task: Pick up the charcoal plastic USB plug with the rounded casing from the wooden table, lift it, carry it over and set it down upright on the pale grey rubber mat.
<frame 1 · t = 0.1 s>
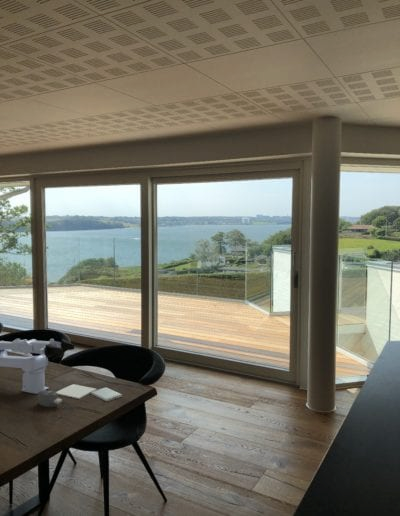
hand: (67, 348, 188), 22 cm above the table, tool horizontal, fingers open, 7 cm apart
hard drive: (106, 396, 192), on the table
rubber mat: (75, 391, 195), on the table
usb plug: (48, 404, 181), on the table
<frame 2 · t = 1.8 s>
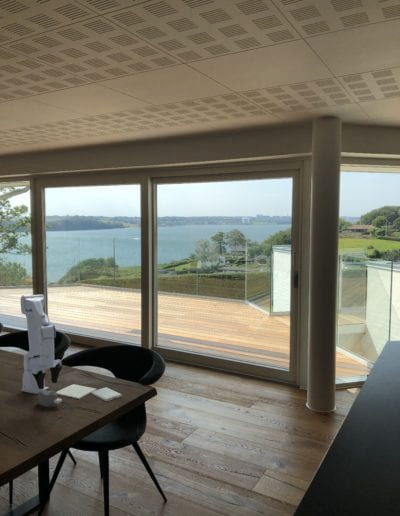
hand: (47, 385, 181), 8 cm above the table, tool pointing down, fingers open, 7 cm apart
nothing on the table moved.
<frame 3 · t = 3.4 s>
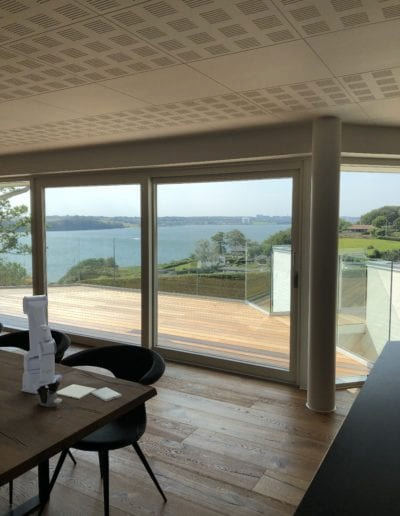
hand: (48, 401, 181), 1 cm above the table, tool pointing down, fingers closed on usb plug, 4 cm apart
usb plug: (48, 404, 181), on the table, touching gripper
everything else where it was.
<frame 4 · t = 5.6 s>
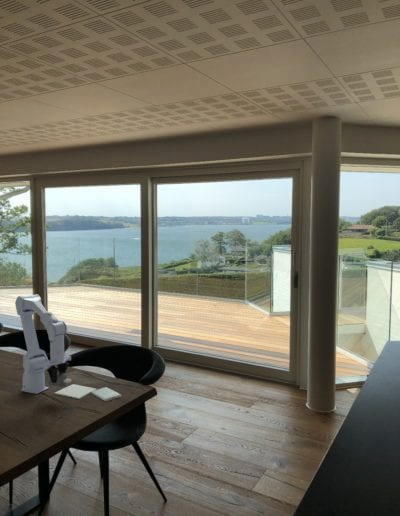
hand: (57, 380, 185), 8 cm above the table, tool pointing down, fingers closed on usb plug, 4 cm apart
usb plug: (57, 384, 186), point 7 cm above the table, touching gripper
everything else where it was.
when the fingers open (3 cm above the table, at t = 8.0 s): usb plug drops 1 cm, resting on rubber mat.
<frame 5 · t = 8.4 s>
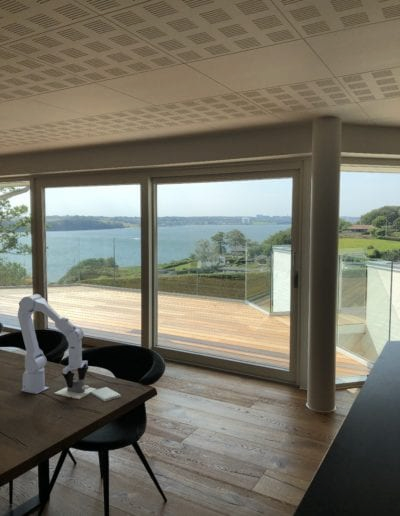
hand: (75, 384, 195), 3 cm above the table, tool pointing down, fingers open, 7 cm apart
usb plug: (76, 390, 195), point 1 cm above the table, touching rubber mat
everything else where it was.
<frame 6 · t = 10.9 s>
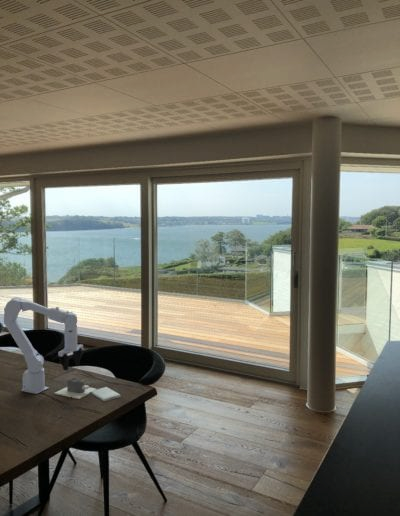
hand: (71, 367, 201), 9 cm above the table, tool pointing down, fingers open, 7 cm apart
nothing on the table moved.
at the end: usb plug inside the target area on the rubber mat (0.1 cm from its centre), point 0.6 cm above the rubber mat's base; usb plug tilted 0°; the gripper is holding nothing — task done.
